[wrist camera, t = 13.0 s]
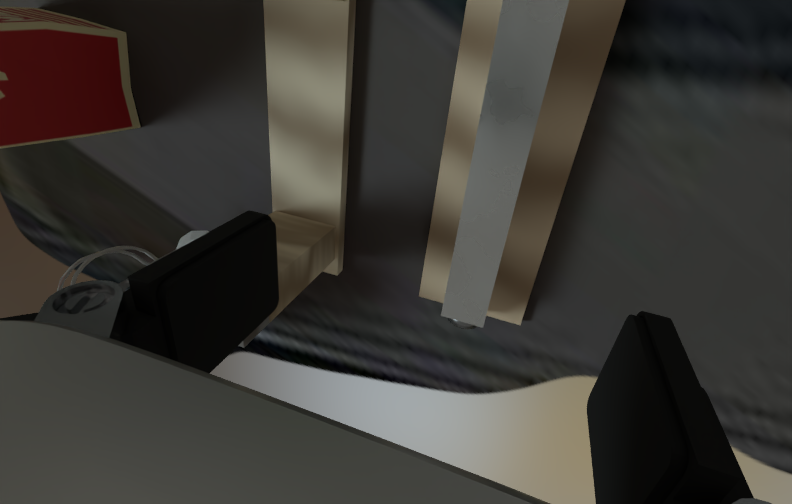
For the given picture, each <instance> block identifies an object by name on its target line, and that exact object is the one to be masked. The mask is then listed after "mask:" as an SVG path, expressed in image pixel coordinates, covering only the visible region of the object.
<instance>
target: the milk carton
mask: <svg viewBox="0 0 792 504" xmlns="http://www.w3.org/2000/svg"><path fill="white" fill-rule="evenodd" d="M135 128H141V126H140V122H139V118H138V114H137V110H136V106H135V103H134V99H133V95H132V91H131V83H130V71H129V59H128V47H127V36H126V32H123V31H120V30H117V29H113V28H110V27H107V26H103V25H100V24H97V23H94V22H90V21H87V20H84V19H80V18H76V17H72V16H68V15H64V14H60V13H56V12H52V11H48V10H43V9H39V8H22V7H0V148H7V147H14V146H22V145H29V144H36V143H43V142H51V141H58V140H65V139H72V138H79V137H87V136H93V135H99V134H105V133H111V132H117V131H123V130H129V129H135Z"/></svg>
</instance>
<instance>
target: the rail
mask: <svg viewBox="0 0 792 504" xmlns="http://www.w3.org/2000/svg"><path fill="white" fill-rule="evenodd" d="M568 3H569V0H503V2H502V7H501V12H500V17H499V22H498V28H497V33H496V38H495V43H494V48H493V53H492V58H491V63H490V68H489V73H488V79H487V84H486V89H485V94H484V99H483V104H482V109H481V114H480V119H479V124H478V129H477V135H476V140H475V145H474V150H473V155H472V160H471V165H470V170H469V175H468V180H467V186H466V191H465V196H464V201H463V206H462V211H461V216H460V221H459V226H458V231H457V237H456V242H455V247H454V252H453V257H452V262H451V267H450V272H449V277H448V282H447V288H446V293H445V298H444V303H443V308H442V313H441V316H444V317H447V318H448V320H449V321H450V322H451V323H452V324H453V325H454V326H456V327H459V328H462V329H473V328H476V327H477V326H478V327H482V328H483V325H484V322H485V318H486V314H487V310H488V306H489V303H490V299H491V295H492V291H493V287H494V284H495V280H496V276H497V272H498V269H499V265H500V261H501V257H502V253H503V250H504V246H505V242H506V238H507V234H508V231H509V227H510V223H511V219H512V215H513V212H514V208H515V204H516V200H517V196H518V193H519V189H520V185H521V181H522V177H523V174H524V170H525V166H526V162H527V158H528V155H529V151H530V147H531V143H532V139H533V136H534V132H535V128H536V124H537V121H538V117H539V113H540V109H541V105H542V102H543V98H544V94H545V90H546V86H547V83H548V79H549V75H550V71H551V67H552V64H553V60H554V56H555V52H556V48H557V45H558V41H559V37H560V33H561V29H562V26H563V22H564V18H565V14H566V10H567V7H568Z"/></svg>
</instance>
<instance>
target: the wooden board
mask: <svg viewBox="0 0 792 504" xmlns="http://www.w3.org/2000/svg"><path fill="white" fill-rule="evenodd" d="M625 1H626V0H569V3H568V7H567V10H566V14H565V18H564V22H563V26H562V29H561V33H560V37H559V41H558V45H557V48H556V52H555V56H554V60H553V64H552V67H551V71H550V75H549V79H548V83H547V86H546V90H545V94H544V98H543V102H542V105H541V109H540V113H539V117H538V121H537V124H536V128H535V132H534V136H533V139H532V143H531V147H530V151H529V155H528V158H527V162H526V166H525V170H524V174H523V177H522V181H521V185H520V189H519V193H518V196H517V200H516V204H515V208H514V212H513V215H512V219H511V223H510V227H509V231H508V234H507V238H506V242H505V246H504V250H503V253H502V257H501V261H500V265H499V269H498V272H497V276H496V280H495V284H494V287H493V291H492V295H491V299H490V303H489V306H488V310H487V314H486V316H490V317H493V318H497V319H500V320H504V321H507V322H511V323H514V324H518V325H521V322H522V318H523V315H524V312H525V309H526V306H527V303H528V300H529V297H530V294H531V291H532V288H533V285H534V282H535V278H536V275H537V272H538V269H539V266H540V263H541V260H542V257H543V254H544V251H545V248H546V245H547V241H548V238H549V235H550V232H551V229H552V226H553V223H554V220H555V217H556V214H557V211H558V208H559V204H560V201H561V198H562V195H563V192H564V189H565V186H566V183H567V180H568V177H569V174H570V171H571V167H572V164H573V161H574V158H575V155H576V152H577V149H578V146H579V143H580V140H581V137H582V134H583V130H584V127H585V124H586V121H587V118H588V115H589V112H590V109H591V106H592V103H593V100H594V97H595V94H596V90H597V87H598V84H599V81H600V78H601V75H602V72H603V69H604V66H605V63H606V60H607V57H608V53H609V50H610V47H611V44H612V41H613V38H614V35H615V32H616V29H617V26H618V23H619V20H620V16H621V13H622V10H623V7H624V4H625ZM502 2H503V0H467V4H466V10H465V16H464V23H463V29H462V35H461V41H460V47H459V53H458V59H457V66H456V72H455V78H454V84H453V90H452V96H451V102H450V108H449V115H448V121H447V127H446V133H445V139H444V145H443V151H442V158H441V164H440V170H439V176H438V182H437V188H436V194H435V200H434V207H433V213H432V219H431V225H430V231H429V237H428V243H427V250H426V256H425V262H424V268H423V274H422V280H421V286H420V292H419V296H420V297H423V298H427V299H430V300H434V301H437V302H441V303H444V298H445V293H446V288H447V282H448V277H449V272H450V267H451V262H452V257H453V252H454V247H455V242H456V237H457V231H458V226H459V221H460V216H461V211H462V206H463V201H464V196H465V191H466V186H467V180H468V175H469V170H470V165H471V160H472V155H473V150H474V145H475V140H476V135H477V129H478V124H479V119H480V114H481V109H482V104H483V99H484V94H485V89H486V84H487V79H488V73H489V68H490V63H491V58H492V53H493V48H494V43H495V38H496V33H497V28H498V22H499V17H500V12H501V7H502Z"/></svg>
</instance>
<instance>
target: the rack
mask: <svg viewBox="0 0 792 504" xmlns="http://www.w3.org/2000/svg"><path fill="white" fill-rule="evenodd" d="M263 3H264V26H265V48H266V71H267V94H268V116H269V139H270V161H271V184H272V206H273V213H271V214H270V215H269V216H270V217H271V219H272V221H273V222H274V223H275V225H276V238H277V261H278V283H279V303H278V306H277V308H276V309H275V311H274V312H273V313H272V314H271V315H270V316H268V317H267V318H266V319H265V320H264V321H263V322H262V323H261V324H260V325H259V326H258V327H257V328H256V329H255V330H254V331H253V332H252V333H251V334H250V335H249V336H248V337H247V338H246V339H245V340H244V341H242V342H241V343H240V344H239V345H238V346H241V347H245V346H246V345H247V344H248V343H249V342H250V341H251V340H252V339H253V338H254V337H255V336H256V335H257V334H259V333H260V332H261V331H262V330H263V329H264V328H265V327H266V326H267V325H268V324H269V323H270V322H271V321H272V320H273V319H274V318H275V317H276V316H277V315H278V314H279V313H280V312H281V311H282V310H283V309H284V308H285V307H286V306H287V305H288V304H289V303H290V302H291V301H292V300H293V299H294V298H295V297H297V296H298V295H299V294H300V293H301V292H302V291H303V290H304V289H305V288H306V287H307V286H308V285H309V284H310V283H311V282H312V281H313V280H314V279H315V278H316V277H317V276H318V275H319V274H320V273H321V272H322V271H323V272H326V273H329V274H333V275H336V276H338V275H339V273H340V272H341V271H342V270H343V253H344V233H345V213H346V193H347V173H348V153H349V133H350V113H351V93H352V73H353V53H354V33H355V13H356V0H263Z"/></svg>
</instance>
